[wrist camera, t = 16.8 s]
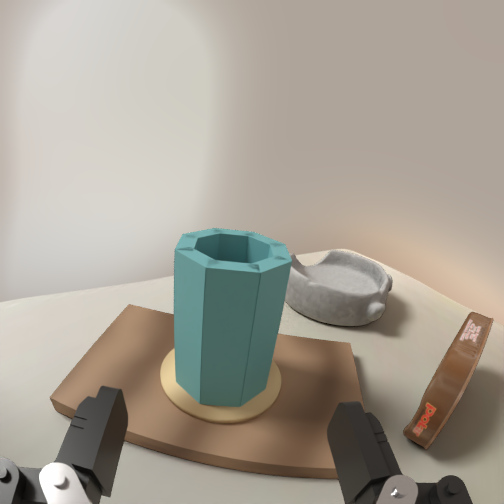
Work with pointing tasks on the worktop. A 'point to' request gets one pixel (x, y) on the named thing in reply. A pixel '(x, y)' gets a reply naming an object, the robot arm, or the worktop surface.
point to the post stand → (219, 417)
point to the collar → (227, 313)
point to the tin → (449, 380)
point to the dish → (339, 289)
